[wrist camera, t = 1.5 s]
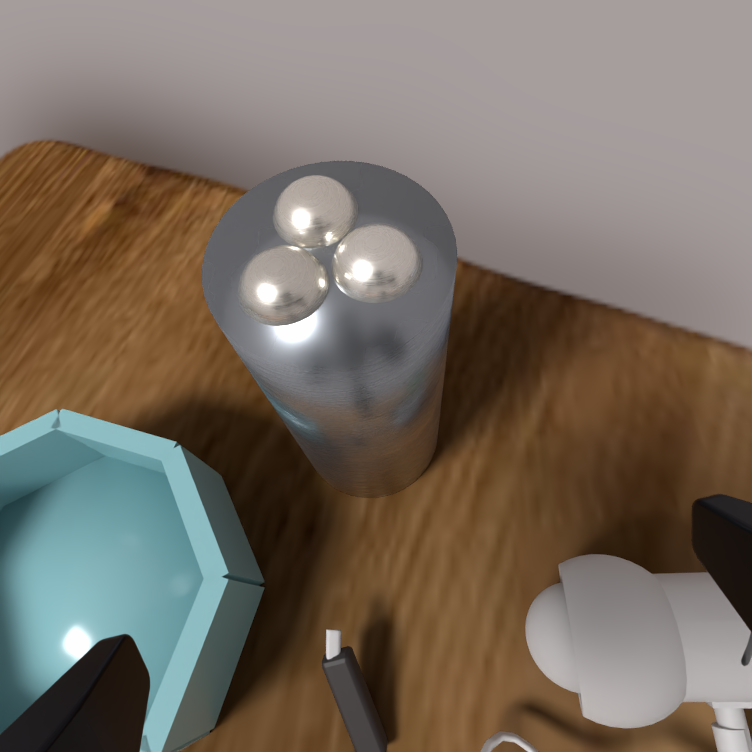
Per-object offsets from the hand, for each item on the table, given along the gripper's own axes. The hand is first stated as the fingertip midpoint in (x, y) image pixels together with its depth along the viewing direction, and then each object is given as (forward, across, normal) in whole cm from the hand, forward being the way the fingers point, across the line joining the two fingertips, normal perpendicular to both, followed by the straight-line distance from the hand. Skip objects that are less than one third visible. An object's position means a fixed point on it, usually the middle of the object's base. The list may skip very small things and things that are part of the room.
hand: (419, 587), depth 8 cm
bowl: (+12, +13, +8) cm, 19 cm away
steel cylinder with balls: (+15, 0, +4) cm, 15 cm away
